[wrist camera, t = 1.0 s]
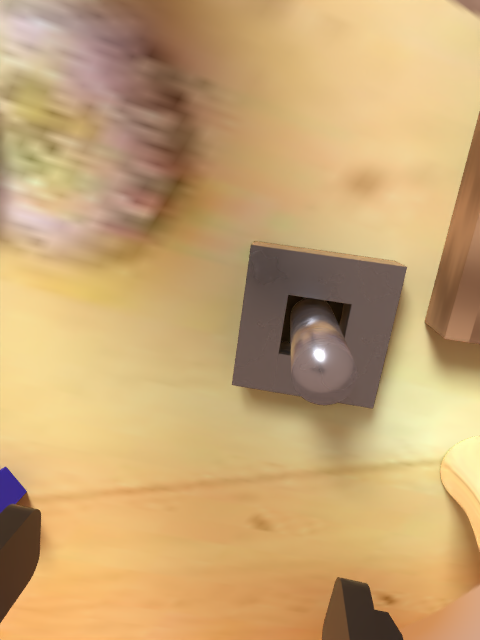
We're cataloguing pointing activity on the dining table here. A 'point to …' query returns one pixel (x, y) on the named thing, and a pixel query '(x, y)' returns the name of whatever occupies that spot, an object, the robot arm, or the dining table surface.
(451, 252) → the rack
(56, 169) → the dining table surface
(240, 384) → the socket block
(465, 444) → the beer glass
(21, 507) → the robot arm
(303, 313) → the round metal peg
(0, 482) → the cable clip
